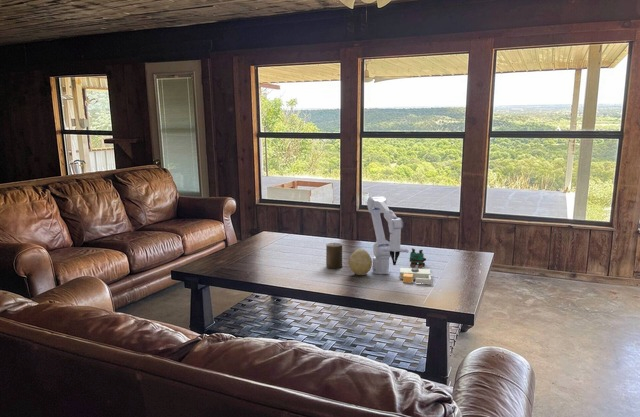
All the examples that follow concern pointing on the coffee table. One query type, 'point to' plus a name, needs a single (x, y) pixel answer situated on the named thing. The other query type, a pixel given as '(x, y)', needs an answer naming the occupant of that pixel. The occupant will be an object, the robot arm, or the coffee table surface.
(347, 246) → the coffee table surface
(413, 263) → the binoculars
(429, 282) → the white notched block
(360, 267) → the fossilized egg
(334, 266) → the pillar candle
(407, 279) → the chute block
